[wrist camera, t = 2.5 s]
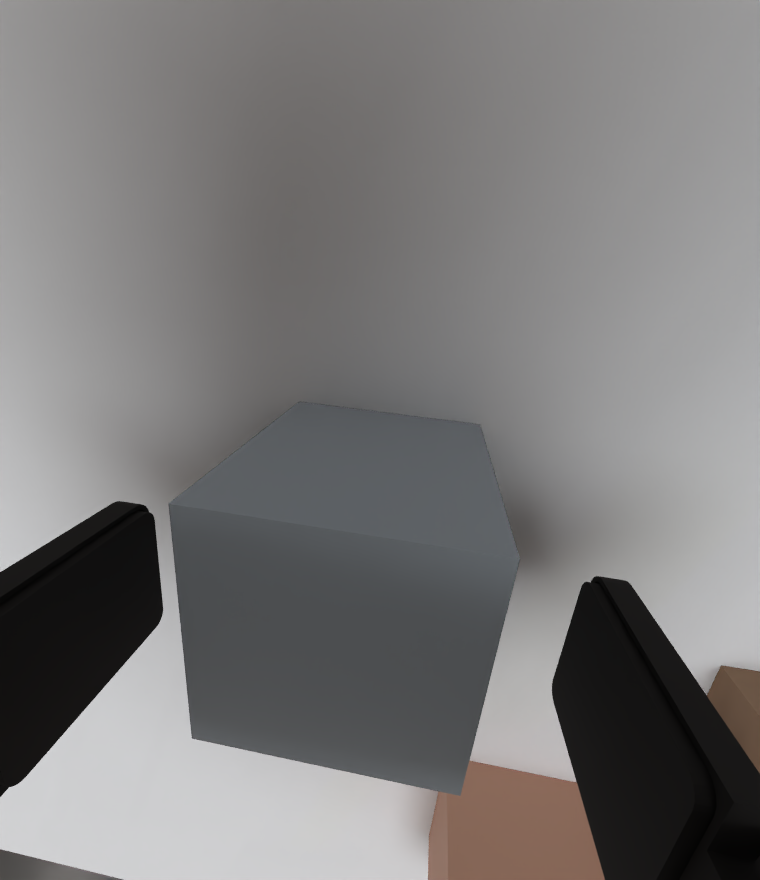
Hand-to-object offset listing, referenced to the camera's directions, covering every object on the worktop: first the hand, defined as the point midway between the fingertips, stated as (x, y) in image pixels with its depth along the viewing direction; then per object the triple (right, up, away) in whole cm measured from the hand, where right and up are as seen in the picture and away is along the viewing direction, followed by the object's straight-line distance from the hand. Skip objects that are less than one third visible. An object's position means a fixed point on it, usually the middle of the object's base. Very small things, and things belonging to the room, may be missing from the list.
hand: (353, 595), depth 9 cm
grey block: (+1, +2, +3) cm, 4 cm away
